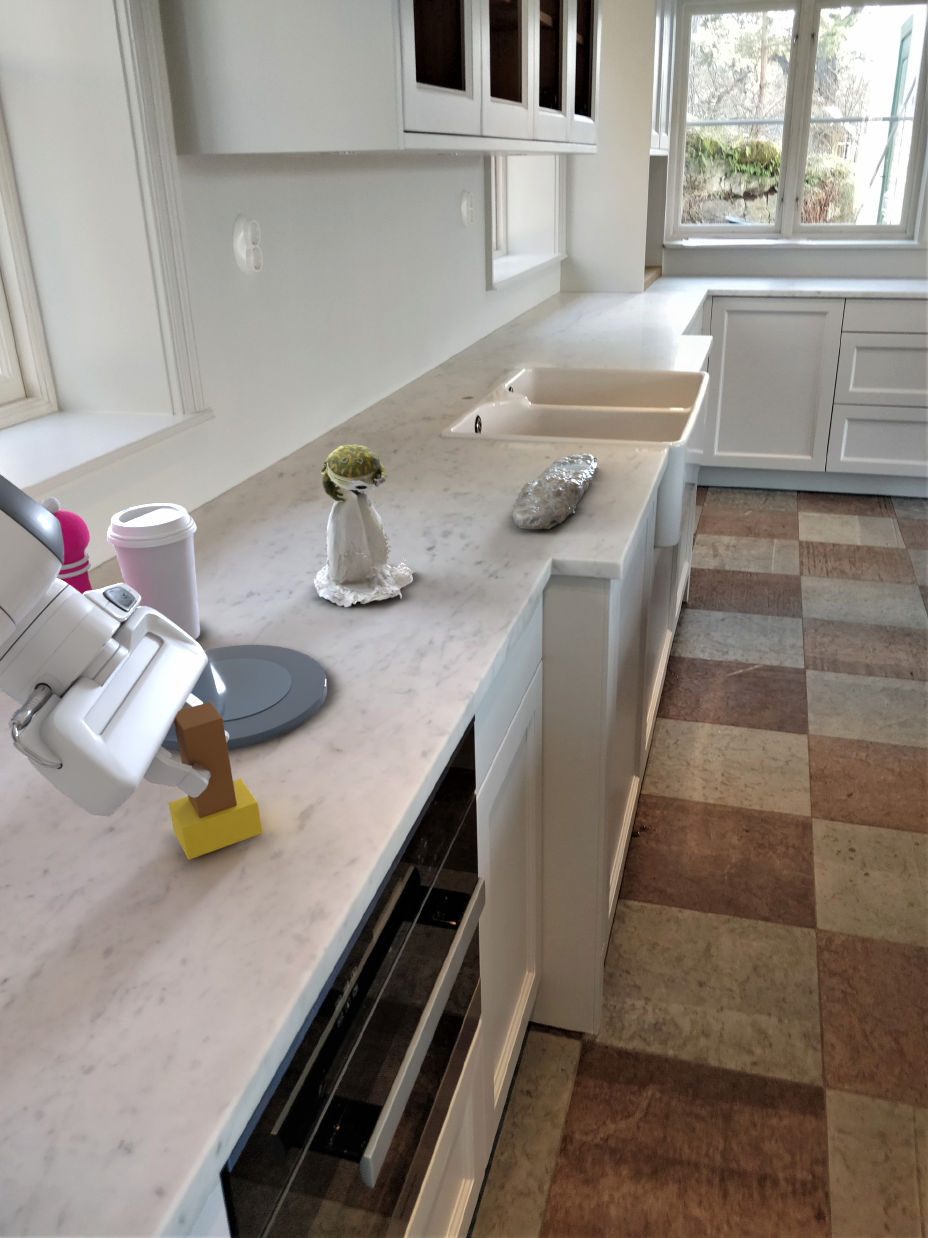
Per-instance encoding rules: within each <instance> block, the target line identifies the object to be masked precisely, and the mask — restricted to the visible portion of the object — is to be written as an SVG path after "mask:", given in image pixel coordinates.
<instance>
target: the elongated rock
mask: <svg viewBox="0 0 928 1238" xmlns="http://www.w3.org/2000/svg"><path fill="white" fill-rule="evenodd" d="M598 469H599V467H598V458H597V457H596V456H593V455H592V454H591V453H584V452H582V453H579V454H577V453H574V454H573V453H572V454H570V455H569V454H568V455H566V456H563V457H559V458H557V459H555V460H554V461H553V462H552V464H551V465H550V466H548V467H547V468H545V470H544V471H542V472H541V474H540V475H539V476H538V477H537V478H536V479H533V480H532V481H530V482H526V483H525V484H524V485H523V486H522V488H521V489H520V491H519V493H518V497H517V498H516V499H515V502H514V504H513V505H512V506H513V510H512V515H511V516H512V520H513V522H514V524H515V525H516V526H517V527H518V528H519V529H522V530H524V529H526V530H542V529H546V530H550V529H551V528H553V527H556V526H557V524H562V523H563V522H564V521H565V520H566V519H567V518H568V516H571V515H575V514H576V512H575V510H576V509H577V504H578V503H579V502H580V501H581V499H582V497H583V496H584V494H585V492H586V491H587V490H589V487H590V485H593V481H594V479H595V476H596V475H597V473H598Z"/></svg>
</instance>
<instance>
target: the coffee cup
mask: <svg viewBox="0 0 928 1238" xmlns="http://www.w3.org/2000/svg"><path fill="white" fill-rule="evenodd" d="M197 529H198V527H197V524H196V522H195V520H194V519H193V517H192V516H191V515H190V514H189V513H188V511H187V509H186V508H185V507H184V506H182V505H180V504H175V503H164V502H163V503H162V502H161V503H159V502H158V503H148V504H147V503H146V504H142V505H137V506H132V507H129V508H126V509H124V510H121V511H119V512H116V513H115V514H114V515H113V516H112V517H111V521H110V526H109V527H108V529H107V534H106V540H107V542H108V544H110V545H112V546H113V549H114V552H115V556H116V558H117V562H118V565H119V568H120V572H121V574H122V578H123V581H124V582H123V583H124V584H127V585H128V586H130V587H131V588H133V589H134V590H135V591H136V592H137V593H138V594H139V595H140V596H141V602H140V603H139V605H138V606H137V607H139V606H147V607H150V608H153V609H155V610H156V611H158V612H160V613H161V614H163V615H164V616H165V617H167V618H168V619H169V620H171V621H172V622H173V623H175V624H176V625H177V626H178V627H180V628H181V629H182V630H183V631H185V632H186V633H187V634H188V635H189V636H191V637H192V638H193V639H194V640H195V641H196V639H198V638H199V637H200V634H201V628H200V627H201V626H200V612H199V600H198V586H197V573H196V560H195V559H196V558H195V544H194V543H195V542H194V534H195V533H196V531H197ZM137 607H136V608H137Z"/></svg>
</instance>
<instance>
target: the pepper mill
mask: <svg viewBox="0 0 928 1238" xmlns="http://www.w3.org/2000/svg"><path fill="white" fill-rule="evenodd" d="M40 505H41V506H43V507H44V508H45V509H46V510H48V511H49V512H50V513H51V514H53V515H54V516H55V517H56V518H57V519H58V520H59V521H60V525H61V531H62V537H63V544H64V565H63V566H62V567H61V569H60V572H59V574H58V576H57V579H60V580H62V581H64V582H66V583H68V584H69V585H71V586H72V587H73V588H75V589H76V590H77V591H79V592H80V593H81V594H83V593H84V592H87V591H93V590H94V589H93V587H92V585H91V580H90V576H89V569H90V568H91V567H92V563H91V561H90V560H89V559H90V555H89V553H88V552H86V549H87V547H88V545H89V543H90V539H91V537H90V531H89V528H88V525H87V523H86V522H85V520H84V519H83V518H82V517H81V516H80V515H78V514H77V513H74V512H73V511H70V510H66V509H61V502H60V501H59V499H57V498H55V497H53V496H47V497H45V498H43V499H42V500H41V503H40ZM69 585H68V586H69Z"/></svg>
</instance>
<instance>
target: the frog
mask: <svg viewBox="0 0 928 1238" xmlns="http://www.w3.org/2000/svg"><path fill="white" fill-rule="evenodd" d="M380 458H381V456H380V455H377V454H376V453H375V452H372V449H370V447H368V446H366V445H362V444H356V443H355V444H344V445H339V446H338V447H336V448H335V449H334V450H333V451H332V452H330V453H329V454H328V455H327V456H326V460H325V461H324V462H323V467H322V468H321V469H320V471H319V472H320V473H321V474H322V480H321V484H322V489H323V491H324V492H325V494H326V495H327V496H328V497H330V498H331V499H332V500H334V501H333V505H332V508H331V510H330V513H329V516H328V520H327V527H326V540H325V541H326V548H327V549H326V548H324V550H326V554H325V557H326V558H327V559H326V565H324V566H323V567H322V568H321V569H320V570H319V571H318V572H317V573H316V576H315V577H314V579H313V584H314V587H315V590H316V592H317V594H318V596H319V597H320V598H324V599H325V600H329V601H330V602H331V603H333V604H334V603H335V604H336V605H337V606H339V607H342V606H344V608H349V607H352V604H353V605H356V604H357V602H360V604H363V605H365V604H368V603H370V602H372V601H383V600H387V599H389V598H394V597H397V596H398V595H399V598H400V599H402V598H403V595H402V593H401V589H402V588H405V587H406V586H408V585H410V584H411V583H413V581H414V579H413V574H414V573H415V570H412V569H411V568H409V567H408V565H407V564H406V563H404V562H406V561H407V559H406V558H405V557H403V558H402V559H403V561H404V562H400V563H398V566H397V567H396V566H391V565H390V564H388V560H389V553H390V552H391V550H392V545H390V544H389V542H391V539H390V537H388V534H387V533H385V528H384V524H383V523H382V518H381V515H380V514H379V513H378V512H377V510H376V508H375V507H374V504H377V502H376V501H374V504H373V503H372V500H371V499H370V498H369V496H368V492H370V491H371V490H373V491H374V490H375V491H376V490H379V486H380V485H383V484H384V483H386V481H387V479H388V477H389V475H388V474H389V473H388V472H387V469H386V468H385V466H384V465H383V464H382V462H381V459H380ZM336 485H337V486H336ZM379 505H380V506H381V505H382V503H379ZM388 541H389V542H388Z"/></svg>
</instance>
